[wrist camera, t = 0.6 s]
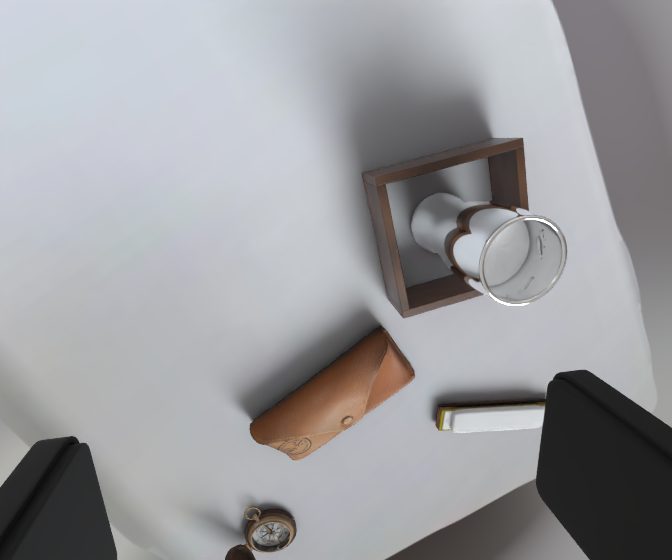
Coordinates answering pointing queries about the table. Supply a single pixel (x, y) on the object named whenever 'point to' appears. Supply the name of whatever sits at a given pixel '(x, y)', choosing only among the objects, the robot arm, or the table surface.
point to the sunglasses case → (335, 397)
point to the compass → (265, 534)
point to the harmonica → (491, 415)
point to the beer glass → (492, 246)
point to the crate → (502, 165)
